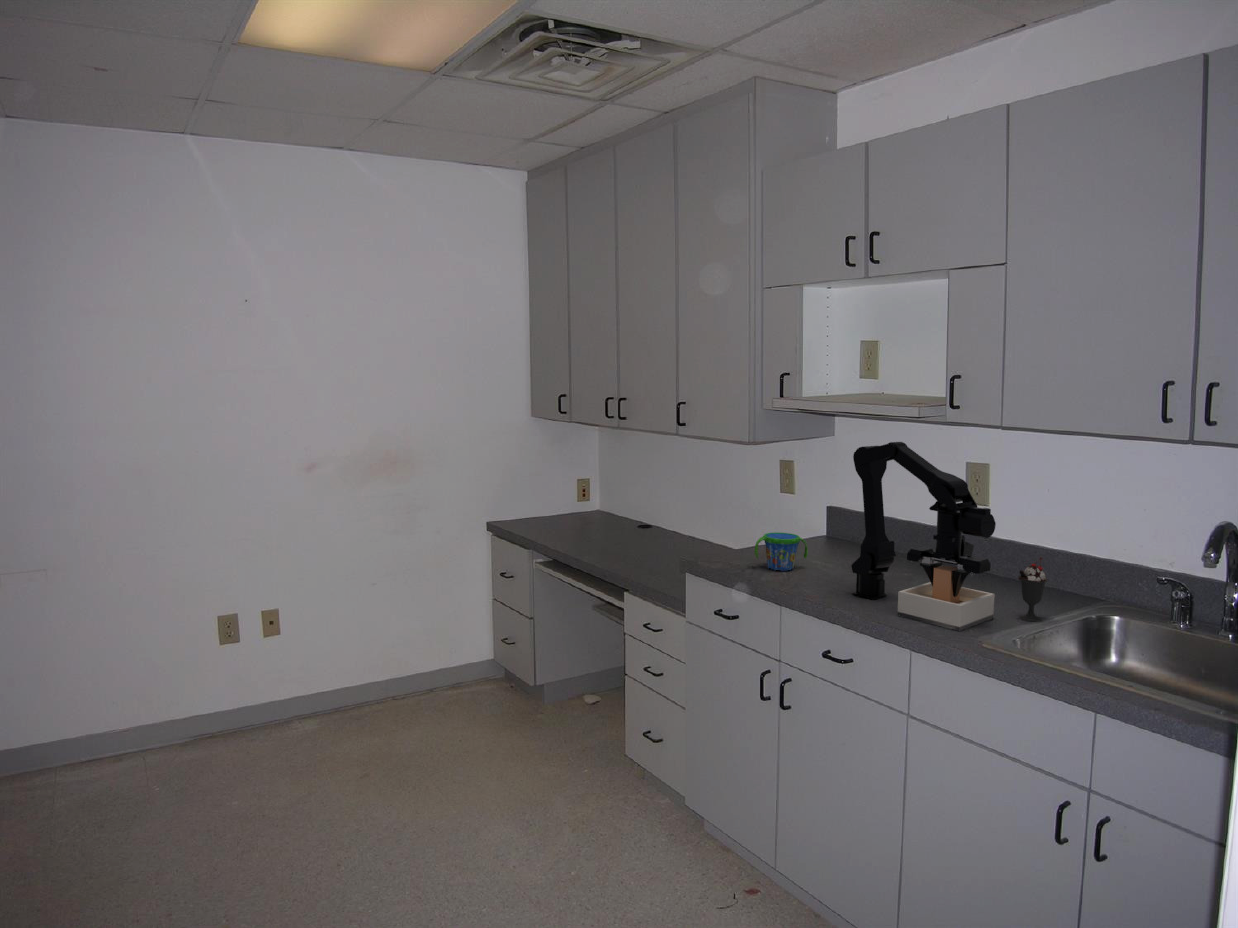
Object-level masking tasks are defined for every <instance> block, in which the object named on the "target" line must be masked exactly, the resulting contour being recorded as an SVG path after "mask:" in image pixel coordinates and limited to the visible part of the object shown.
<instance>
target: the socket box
mask: <svg viewBox="0 0 1238 928" xmlns="http://www.w3.org/2000/svg"><path fill="white" fill-rule="evenodd" d="M995 596H996V595H995V593H991V592H987V591H983V590H978V589H972V588H968V587H964V586H962V587H961V589H960V599H959V603H958V604H956V603H952V602H947V601H943V600H938V599H934V598H932V597H933V586H932V584H931V582H930V581H929V582H926V583H925V582H924V583H923V584H918V585H916V586H913V587H909V588H906V589H903V590H902V589H901V590H900V591H899V590H898V594H897V597H898V598H897V600H898V601H897V613H896V614H897V615H900V616H899V617H901V616H903V617H902V618H905V619H909V620H913V619H915V620H914V621H917V620H918V621H917V622H921V621H922V622H921V623H925V624H929V625H933V624H934V625H933V626H937V627H940V626H941V628H945V629H948V630H952V629H954V630H953V631H957V632H962V631H964V630H966V629H968V628H972V627H974V626H977V625H979V624H981V623H984V621H985V622H987V621H990V620H992V619H994V613H995ZM989 619H990V620H989ZM986 620H987V621H986ZM976 624H977V625H976ZM973 625H974V626H973ZM971 626H972V627H971ZM963 629H964V630H963Z"/></svg>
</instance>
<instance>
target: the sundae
mask: <svg viewBox="0 0 1238 928" xmlns="http://www.w3.org/2000/svg"><path fill="white" fill-rule="evenodd" d="M1043 559H1044V558H1043V557H1039V559H1038V561H1039V563H1041V562H1042V560H1043ZM1038 561H1036V562H1035V563H1031V564H1030V566H1027V567H1026V568H1025V569H1024V570H1023V569H1020V570H1019V571H1018V572H1019V575H1018V576H1017V578H1018V580H1019V581H1020V584H1021V593H1022V594H1021V595H1022V599H1023V601H1024V602H1025V603H1026V604H1027V606H1028V609H1027V610H1028V611H1027V613H1026V614H1025V615H1024V614H1023V615H1020V616H1019V619H1020V620H1022V621H1024V622H1025V621H1026V622H1031V623H1032V622H1033V623H1037V622H1036V621H1040V622H1042V621H1041V619H1042V618H1041V617H1040V616H1037V615H1036V614H1035V610H1034V609H1035V605H1038V604H1039V603H1040V602H1041V601H1042V597H1043V594H1044V589H1045V585H1046V582H1048V581H1049V579H1048V578H1046V577H1047V576H1046V574H1045V572H1044V571H1043V567H1042V565H1041V564H1039V566H1037V564H1038Z"/></svg>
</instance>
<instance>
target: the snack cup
mask: <svg viewBox="0 0 1238 928" xmlns="http://www.w3.org/2000/svg"><path fill="white" fill-rule="evenodd" d="M762 541H764V544H765V545H764V546H765V555H766V562H767V564H766V565H767V568H768V569H769V568H771V569H770V570H772V569H774V570H773V571H776V570H781V571H780V572H785V571H788V570H790V571H791V569H792V570H793V569H794V566H795V562H796V555H797V551H798V546H799V543H800V541H801V542H802V543H803V544H804V547H805V548H804V553H803V558H804V559H807V558H808V553H809V548H808V545H807V542H806V540H804V539H803V538H801V537H800V536H799V535H798V534H796V533H791V532H778V531H777V532H776V531H775V532H768V533H764V534H763V536H761V537H759V539H758V540H757V541H756V543H755V545H754V555H755V558H756V559H758V558H759V555H758V553H759V543H761V542H762Z"/></svg>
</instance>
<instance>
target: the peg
mask: <svg viewBox="0 0 1238 928" xmlns="http://www.w3.org/2000/svg"><path fill="white" fill-rule="evenodd" d="M956 569H958V567H954V566H949V565H945V564H944V565H943V564H942V565H941V566H939V567H936V568H934V577H933V597H932V598H934V599H938V600H943V601H947V602H952V603H956V604H958V603H959V599H960V591H959V593H958V596H957V597H954V596H953V570H956Z"/></svg>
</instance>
